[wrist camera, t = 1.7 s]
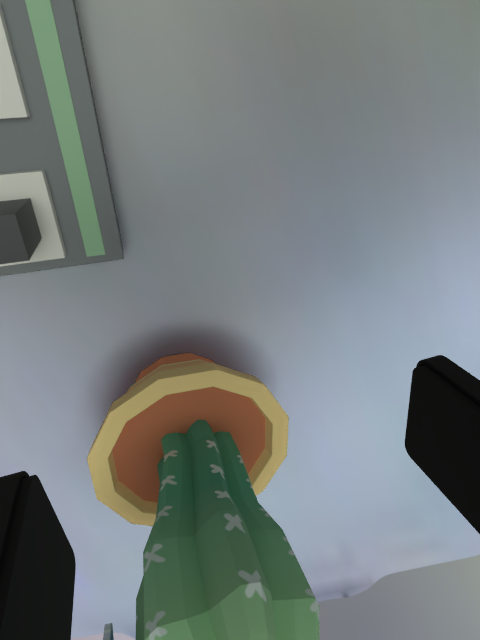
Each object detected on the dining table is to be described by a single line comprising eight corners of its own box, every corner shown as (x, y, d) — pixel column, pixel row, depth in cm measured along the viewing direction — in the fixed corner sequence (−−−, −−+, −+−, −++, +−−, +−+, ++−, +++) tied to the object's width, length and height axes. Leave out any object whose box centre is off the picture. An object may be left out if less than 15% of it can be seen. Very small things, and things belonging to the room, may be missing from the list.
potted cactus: (101, 310, 32) (82, 702, 11) (278, 328, 37) (503, 614, 16) (83, 461, 38) (47, 914, 16) (238, 458, 43) (366, 797, 22)
